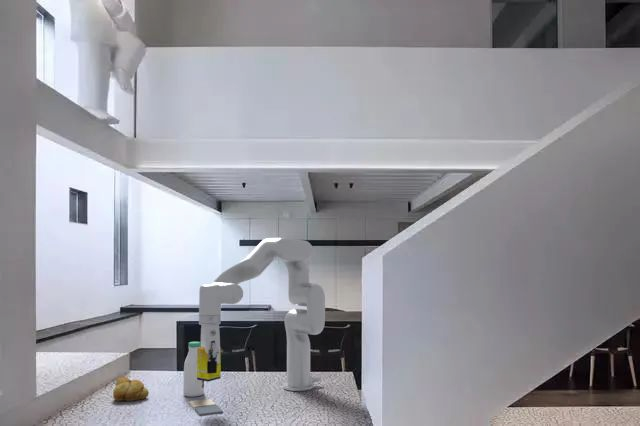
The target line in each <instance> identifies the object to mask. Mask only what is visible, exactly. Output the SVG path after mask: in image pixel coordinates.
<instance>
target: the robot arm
mask: <svg viewBox="0 0 640 426" xmlns="http://www.w3.org/2000/svg"><path fill="white" fill-rule="evenodd" d="M313 255H314V248H313V246H312V244H311V243H310V242H309V241H307V240H302V239H293V238H286V237H267V238H264V239H262V240H261V241H260V242H259V243H258V244H257V245H256V246H255V248H253V249H252V251H250V253H248V255H247V256H246V257H244V259H242V260H241V261H240V262H237V263H236V264H234V265H232V266H231V267H229V268H227V269H226V270H224V271H223V272H221V274H219V275H218V276H217V277H216V278H215V279H214V280H213V281H212V283H210V284H209V283H207V284H206V283H205V284H202V285H200V287H199V290H198V291H199V292H198V295H199V299H198V302H199V303H198V305H199V306H198V325H201V328H200V344H201V345H200V348H201V347H202V348H204V349H205V353H206V354H208V361H207V373H208V374H210V373H216V372H217V355H216V354H217V352H218V353H220V347H221V336H220V335H221V334H220V325H221V322H222V318H221V317H222V315H221V313H222V304H225V305H235V304H238V303H239V302H240V301H242V299H243V297H244V291H243V288H242V287H241V286H240V285H239V284H241V283H244V282H248V281H251V280H254V279H256V278H258V277H259V276H261V275H262V274H263V273H264V272H265V270H266V269H267V268H268V267H269V266H270V265H271V264H272V262H274V261H277V260H278V261H279V260H280V261H282V263H283V264H284V266H285V267H286V269H287V273H288V301H289V303H290V304H291V305H293V306H298V307H306V309H303V308H294V309H290V310H289V311H288V312H287V313H285V316H284V328H285V332H286V334H285V335H286V382H284V383H283V384H282V388H283V389H284V390H286V391H292V392H306V391H310V390H312V389H314V388H315V385H314V383H315V382H317V383H318V382H322V377H321V376H316V375H314V376H313V375H311V342H310V337H309V335H313V336H316V335H320V334H321V332H323V330H324V328H325V323H326V322H325V321H326V295H325V294H326V293H325V291H324V288H323V287H322V286H321V285H320V284H319V283H316V282H315V283H314V282H310V270H309V267H308V264H307V263H306V262H308V261H309V260H311V258H312V257H313ZM209 350H212V352H209ZM210 355H211V357H210Z"/></svg>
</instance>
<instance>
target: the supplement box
mask: <svg viewBox="0 0 640 426" xmlns="http://www.w3.org/2000/svg"><path fill="white" fill-rule="evenodd" d="M221 349H222V348H221V346H220V353H218V352H217V354H216V355H217V372H216V373H210V374H208V373H207V361H208V354H206V353H205V349H204V348H202V347H201V346H200V348H197V380H202V381H204V382H206V383H207V382H213V381H215V380H219V379H221V372H222V367H221V366H222V365H221V363H222V361H221V357H222V354H221V353H222V351H221ZM209 352H212V350H209ZM210 357H211V355H210Z"/></svg>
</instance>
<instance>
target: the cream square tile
mask: <svg viewBox="0 0 640 426" xmlns="http://www.w3.org/2000/svg"><path fill="white" fill-rule="evenodd" d="M188 403H189V405H190V406H191V407H192V408H193V409H195V408H197V407H206V406H214V405H217V404H216V402H215V401H214V400H212V399H211V398H205V399H198V400H197V399H196V400H189V401H188Z"/></svg>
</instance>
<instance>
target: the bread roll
mask: <svg viewBox="0 0 640 426" xmlns="http://www.w3.org/2000/svg"><path fill="white" fill-rule="evenodd" d="M115 381H116V382H115V388H114V389H113V393H112V394H113V395H112V398H113V399H114V400H115V401H118V402H120V401H126V402H129V401H130V402H131V401H135V400H142V399H145V398H147V397H148V396H149V390H148V388H146V387H145V385H144V383H143V382H142V381H141V380H138V379H133V380H131V379H129V378H128V377H127V376H123V375H121V376H119V377H117V379H116V380H115Z"/></svg>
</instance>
